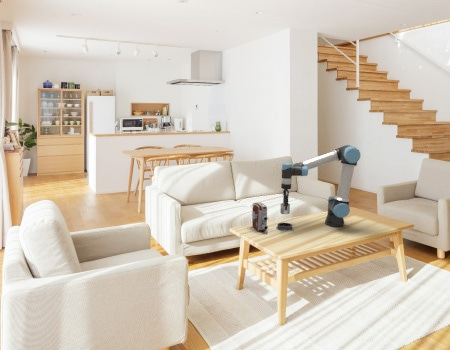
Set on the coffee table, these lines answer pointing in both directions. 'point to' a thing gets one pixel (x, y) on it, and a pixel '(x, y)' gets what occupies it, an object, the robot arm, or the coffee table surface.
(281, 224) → the lens barrel
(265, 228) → the cine camera
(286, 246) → the coffee table surface
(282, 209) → the grey cube
